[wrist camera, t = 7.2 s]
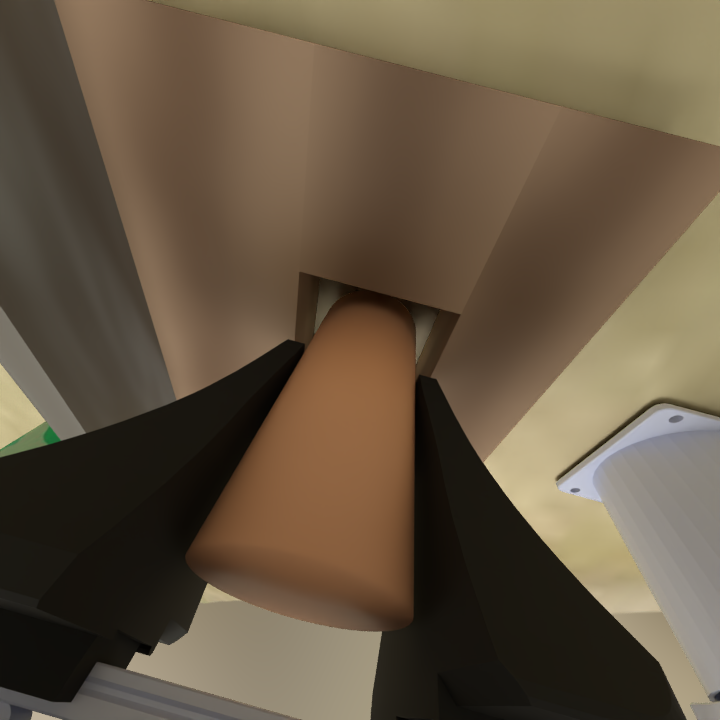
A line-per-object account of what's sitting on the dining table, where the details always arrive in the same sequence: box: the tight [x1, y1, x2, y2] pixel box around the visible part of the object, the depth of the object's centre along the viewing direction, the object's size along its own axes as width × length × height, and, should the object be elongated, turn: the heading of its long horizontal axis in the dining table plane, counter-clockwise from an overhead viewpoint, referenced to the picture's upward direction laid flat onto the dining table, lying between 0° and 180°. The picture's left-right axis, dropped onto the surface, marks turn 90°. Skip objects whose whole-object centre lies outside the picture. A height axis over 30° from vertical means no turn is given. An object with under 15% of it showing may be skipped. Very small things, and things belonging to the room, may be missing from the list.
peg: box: [185, 290, 416, 631], centre depth 8 cm, size 4×4×9 cm
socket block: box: [0, 0, 720, 462], centre depth 10 cm, size 18×16×7 cm
